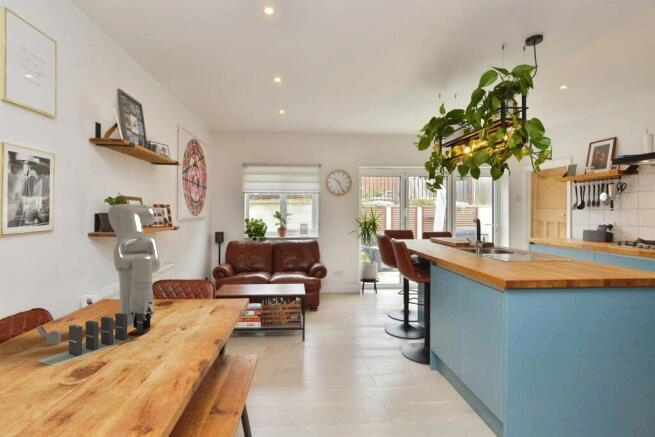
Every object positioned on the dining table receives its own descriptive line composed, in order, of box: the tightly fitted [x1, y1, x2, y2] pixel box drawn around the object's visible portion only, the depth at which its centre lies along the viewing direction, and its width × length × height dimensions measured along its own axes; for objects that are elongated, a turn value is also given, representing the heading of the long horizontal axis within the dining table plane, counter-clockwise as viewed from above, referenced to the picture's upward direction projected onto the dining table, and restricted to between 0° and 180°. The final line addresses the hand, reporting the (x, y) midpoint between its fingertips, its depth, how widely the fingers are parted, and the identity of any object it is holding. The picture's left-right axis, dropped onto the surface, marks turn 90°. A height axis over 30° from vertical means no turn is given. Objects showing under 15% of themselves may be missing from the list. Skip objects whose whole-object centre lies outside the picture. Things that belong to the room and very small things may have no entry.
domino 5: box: [135, 310, 149, 334], centre depth 140 cm, size 2×5×10 cm, turn 66°
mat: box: [37, 335, 132, 367], centre depth 122 cm, size 10×27×1 cm, turn 156°
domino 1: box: [68, 324, 83, 356], centre depth 117 cm, size 2×5×10 cm, turn 66°
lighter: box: [36, 324, 62, 346], centre depth 127 cm, size 7×2×8 cm, turn 114°
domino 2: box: [85, 320, 100, 351], centre depth 122 cm, size 2×5×10 cm, turn 66°
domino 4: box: [114, 312, 128, 341], centre depth 132 cm, size 2×5×10 cm, turn 66°
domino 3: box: [100, 316, 115, 345], centre depth 127 cm, size 2×5×10 cm, turn 66°
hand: (141, 327), depth 140 cm, fingers closed on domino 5, 4 cm apart
